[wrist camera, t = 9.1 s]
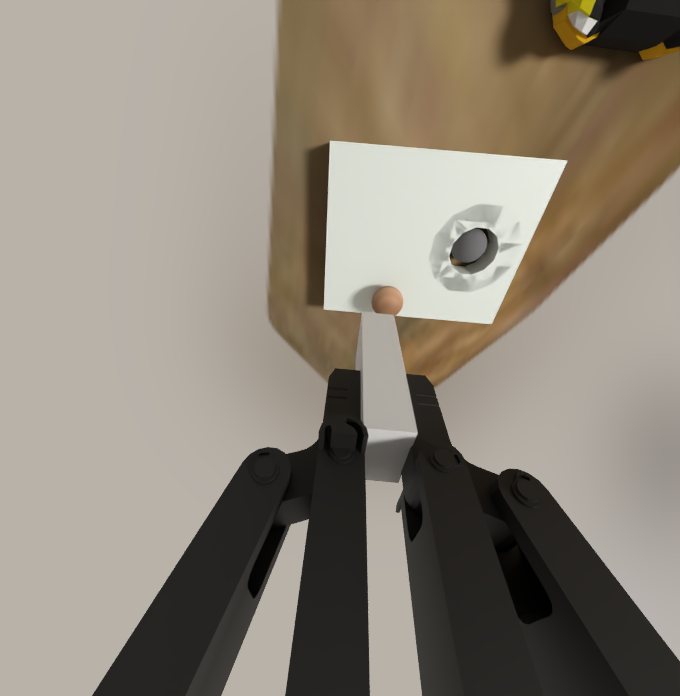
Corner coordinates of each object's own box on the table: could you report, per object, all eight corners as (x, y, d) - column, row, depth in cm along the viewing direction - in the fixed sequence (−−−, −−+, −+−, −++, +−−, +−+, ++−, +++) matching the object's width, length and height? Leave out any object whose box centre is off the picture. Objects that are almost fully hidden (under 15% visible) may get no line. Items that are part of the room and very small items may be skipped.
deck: (332, 141, 25) (329, 140, 23) (550, 159, 25) (567, 160, 23) (325, 300, 34) (323, 309, 32) (483, 313, 34) (491, 324, 32)
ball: (450, 225, 29) (463, 225, 26) (482, 228, 29) (498, 229, 26) (442, 258, 30) (453, 262, 27) (472, 262, 30) (487, 266, 27)
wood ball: (373, 279, 30) (374, 292, 27) (403, 282, 30) (408, 295, 27) (369, 307, 32) (369, 322, 29) (397, 309, 32) (401, 324, 29)
